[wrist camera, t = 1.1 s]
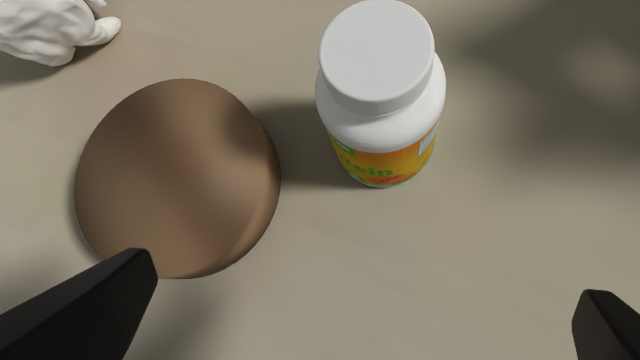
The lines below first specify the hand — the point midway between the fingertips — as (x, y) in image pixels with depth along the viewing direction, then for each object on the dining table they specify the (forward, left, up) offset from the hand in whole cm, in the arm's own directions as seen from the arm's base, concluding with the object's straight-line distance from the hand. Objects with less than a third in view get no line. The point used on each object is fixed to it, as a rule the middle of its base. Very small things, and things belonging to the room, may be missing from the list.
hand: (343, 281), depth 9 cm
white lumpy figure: (-3, +29, -14) cm, 32 cm away
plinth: (-4, +12, -13) cm, 18 cm away
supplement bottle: (+6, +6, -14) cm, 16 cm away
